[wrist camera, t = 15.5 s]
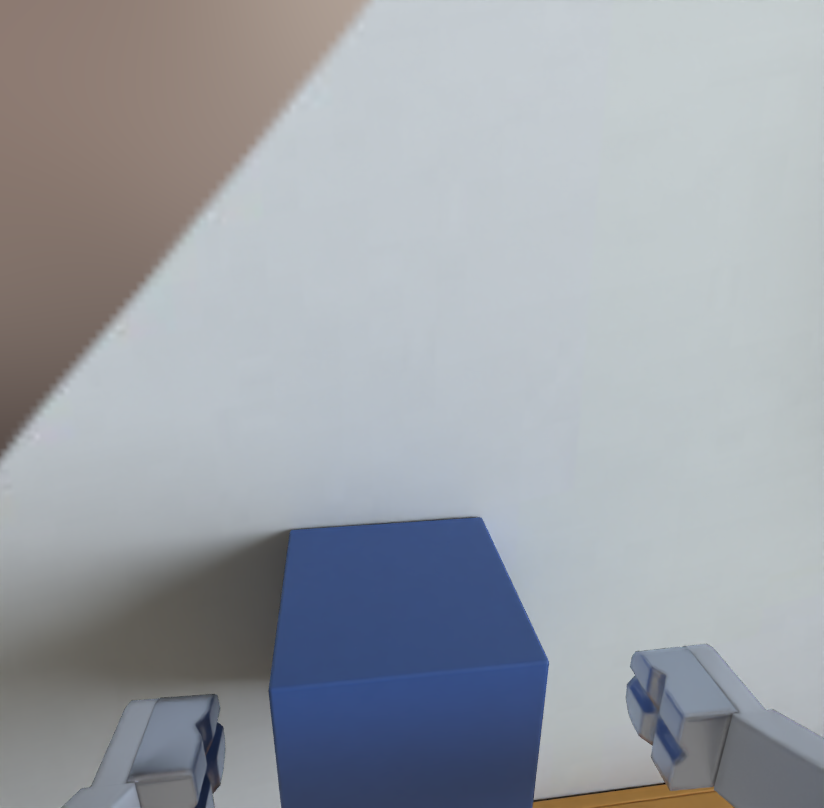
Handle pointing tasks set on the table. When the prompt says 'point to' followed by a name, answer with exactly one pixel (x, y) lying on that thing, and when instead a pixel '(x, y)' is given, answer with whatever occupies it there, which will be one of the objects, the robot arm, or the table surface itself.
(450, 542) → the blue block
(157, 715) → the robot arm
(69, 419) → the table surface
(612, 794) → the amber tray
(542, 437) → the table surface
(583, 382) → the table surface
